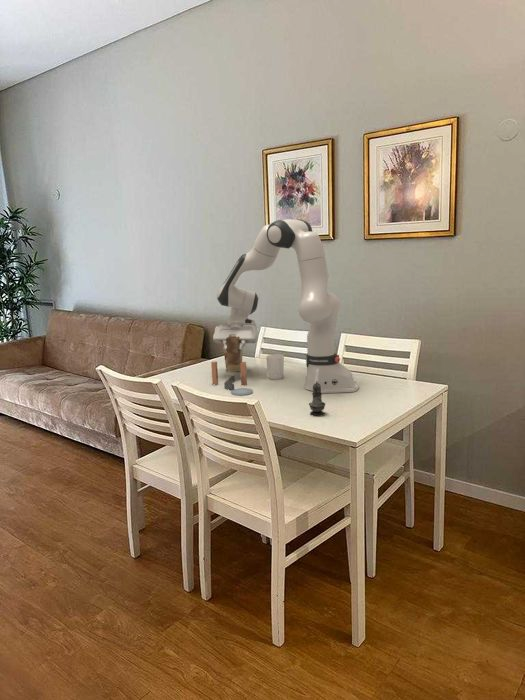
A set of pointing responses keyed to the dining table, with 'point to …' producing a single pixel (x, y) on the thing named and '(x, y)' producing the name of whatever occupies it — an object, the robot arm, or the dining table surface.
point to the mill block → (233, 350)
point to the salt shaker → (317, 401)
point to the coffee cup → (232, 367)
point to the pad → (242, 391)
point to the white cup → (275, 366)
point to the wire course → (229, 382)
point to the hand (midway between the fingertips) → (233, 350)
